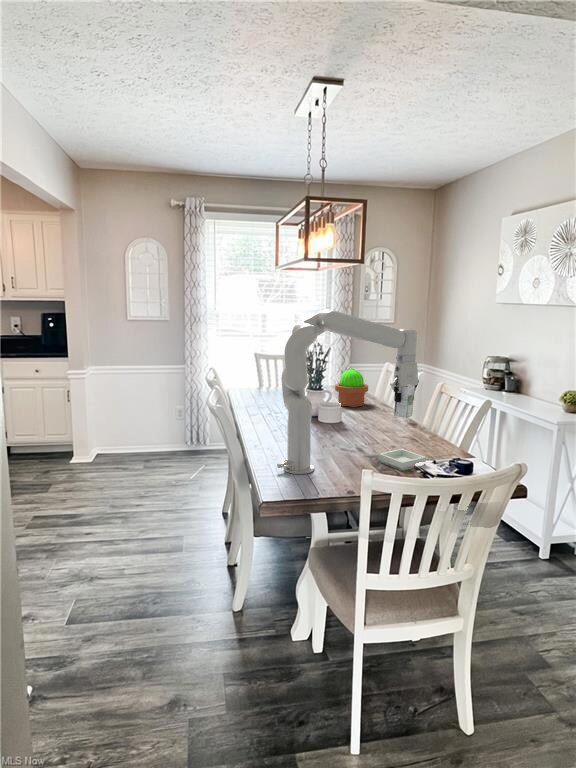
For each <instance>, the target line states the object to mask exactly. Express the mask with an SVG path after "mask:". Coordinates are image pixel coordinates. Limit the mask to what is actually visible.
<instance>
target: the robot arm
mask: <svg viewBox="0 0 576 768" xmlns="http://www.w3.org/2000/svg"><path fill="white" fill-rule="evenodd" d="M325 332H330V333H334V334H337V335H341V336H344V337H348V338H351V339H356V340H359V341H365V342H370V343H375V344H378V345H382V347H387V348H392V349H397V351H396V352H397V354H396V358H395V359H396V362H395V365H394V366H395V367H394V372H393V373H394V374H393V380H392V381H391V382H390V384H389V386H391V388H392V390H393V392H394V399H393V400H394V403H395V402H401V393H400V392H401V389H402V387H406V386H407V384H410V385H411V384H412V385H411V386H414V392H415V391H416V389H417V387H418V386H419V383H420V380H419V375H418V373H419V371H418V362H417V361H416V357H417V355H416V353H417V340H418V339H417V337H418V336H417V335H418V332H417V330H416V329H413V328H401V329H397V328H396V327H395V328H393V327H391V326H387V325H383V324H380V323H376V322H374V321H371V320H368V319H364V318H362V317H358V316H354V315H351V314H348V313H344V312H340V311H337V310H333V309H323V310H321V311H319V312H317V313H315V314H313V315H312V316H310V317H308V318H305V319H304V320H301V321H300V322H298V323H297V324H295V325H294V326H293V328H292V331H291V335H290V337H289V338H288V339H287V341H286V344H285V347H284V369H283V370H282V372H281V390H282V398H283V404H284V407H285V409H286V410H287V412H288V414H287V429H286V430H287V431H286V432H287V453H286V454H287V458H285V459H284V461H283V462H278V463H277V464H276V467H277V469H282V468H283V471H284V472H286V473H288V474H293V475H307V474H310V473H312V472H314V471H315V466H314V465H313V464H312V463H311V452H312V451H311V450H312V449H311V448H312V447H311V444H312V443H311V439H312V438H311V437H312V435H311V434H312V432H311V431H312V429H311V428H312V425H311V424H312V417H313V404H312V402H311V399H310V398H309V397H308V396H307V395H306V391H305V389H306V388H307V386H308V383H309V376H308V368H307V351H308V349H309V347H310V346H311V345H313V344H314V343H315V342H316V340H317V338H318V336H320V335H322V334H323V333H325ZM398 384H399V385H398ZM398 387H399V389H398ZM413 401H415V396H414V397H413Z"/></svg>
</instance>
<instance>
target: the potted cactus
mask: <svg viewBox="0 0 576 768" xmlns="http://www.w3.org/2000/svg"><path fill="white" fill-rule="evenodd" d="M364 382H365V381H364V375H362V373H361V372H360V371H358V370H357V369H355V368H347V369H346V370H345V371H344V372H342V374H341V375H340V379H339V383H338V382H337V383H336V384H335V385H334V390H335V392H338V395H337V397H338V400H337V401H338V402H339V403H341V405H343V406H342V407H344V406H361V407H363V406H365V394H366V393H367V392H368V391H369V385H368V383H367V384H366V383H364ZM362 405H363V406H362Z"/></svg>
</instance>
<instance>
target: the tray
mask: <svg viewBox="0 0 576 768" xmlns="http://www.w3.org/2000/svg"><path fill="white" fill-rule="evenodd" d="M426 461H427V457H426V456H424V455H421V454H419V453H416V452H413V451H410V450H407V449H404V448H399V449H394V450H389V451H384V452H381V453H378V462H379V463H381V464H383V465H386V466H388V467H391V468H394V469H396V470H399V471H401V472H403V471H407V470H411V468H412V469H414V468H413V467H414V465H415V464H416V463H419V462H426ZM426 463H427V462H426Z"/></svg>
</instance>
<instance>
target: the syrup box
mask: <svg viewBox="0 0 576 768" xmlns="http://www.w3.org/2000/svg"><path fill="white" fill-rule="evenodd" d="M398 385H399V384H398ZM411 385H412V384H411ZM411 385H410V384H407V386H406V387H402V389H401V392H400V393H401V402H395V401H394V415H393V416H394V417H397V418H403V419H407V418H410V417H412V416H413V411H414V410H413V408H414V400H413V397H414V398H415V391H414V386H411ZM398 389H399V387H398Z"/></svg>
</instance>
